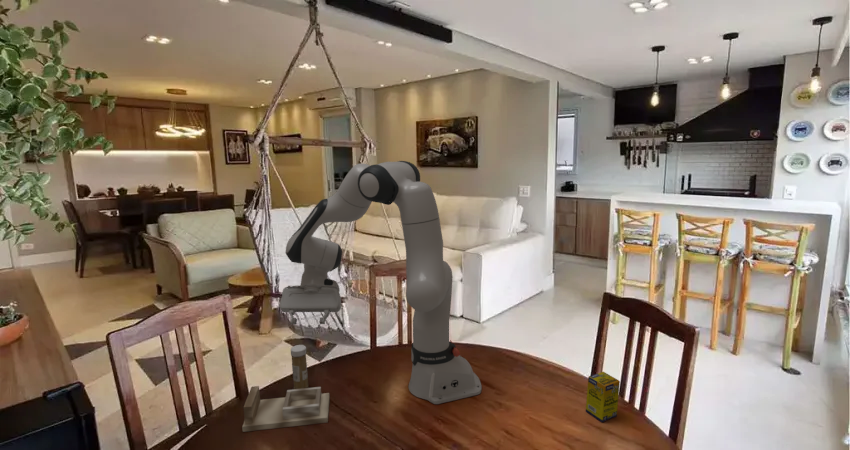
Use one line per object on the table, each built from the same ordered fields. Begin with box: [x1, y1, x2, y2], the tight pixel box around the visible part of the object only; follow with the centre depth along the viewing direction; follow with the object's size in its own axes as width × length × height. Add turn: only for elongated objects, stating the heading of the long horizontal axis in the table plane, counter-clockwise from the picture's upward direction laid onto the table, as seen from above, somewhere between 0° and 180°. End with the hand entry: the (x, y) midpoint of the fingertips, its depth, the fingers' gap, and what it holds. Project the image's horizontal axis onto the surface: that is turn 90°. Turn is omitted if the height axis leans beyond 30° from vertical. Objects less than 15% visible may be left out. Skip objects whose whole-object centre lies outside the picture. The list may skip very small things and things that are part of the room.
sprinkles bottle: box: [290, 344, 309, 389], centre depth 135 cm, size 5×5×14 cm
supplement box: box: [585, 371, 621, 423], centre depth 121 cm, size 6×6×11 cm
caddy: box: [241, 385, 331, 433], centre depth 123 cm, size 22×12×6 cm, turn 100°
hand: (307, 323), depth 144 cm, fingers open, 8 cm apart
